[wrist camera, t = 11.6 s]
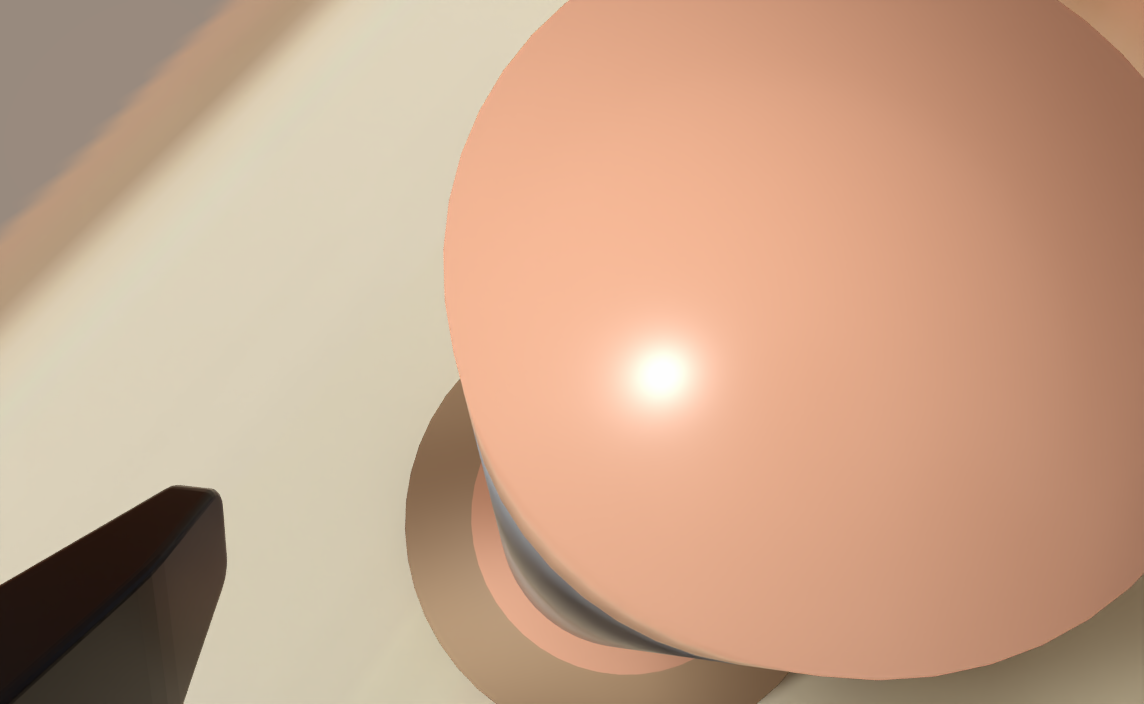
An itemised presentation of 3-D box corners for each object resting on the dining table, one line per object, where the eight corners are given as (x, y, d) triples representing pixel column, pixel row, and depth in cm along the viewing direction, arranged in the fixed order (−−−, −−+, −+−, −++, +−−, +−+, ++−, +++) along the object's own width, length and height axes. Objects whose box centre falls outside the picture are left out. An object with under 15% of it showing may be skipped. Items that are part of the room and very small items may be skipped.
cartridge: (792, 587, 18) (1397, 480, 6) (555, 689, 17) (635, 832, 5) (689, 358, 19) (1001, -165, 7) (463, 446, 18) (333, 50, 6)
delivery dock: (849, 722, 19) (873, 728, 17) (419, 758, 18) (411, 767, 17) (793, 315, 21) (809, 294, 20) (406, 337, 20) (398, 317, 19)
